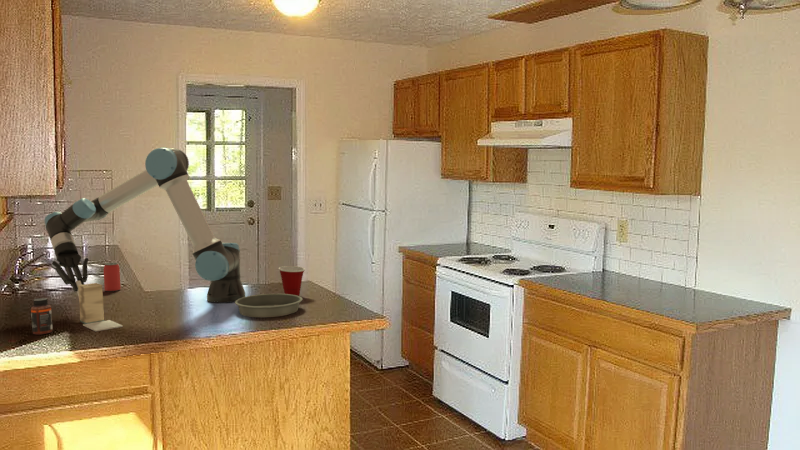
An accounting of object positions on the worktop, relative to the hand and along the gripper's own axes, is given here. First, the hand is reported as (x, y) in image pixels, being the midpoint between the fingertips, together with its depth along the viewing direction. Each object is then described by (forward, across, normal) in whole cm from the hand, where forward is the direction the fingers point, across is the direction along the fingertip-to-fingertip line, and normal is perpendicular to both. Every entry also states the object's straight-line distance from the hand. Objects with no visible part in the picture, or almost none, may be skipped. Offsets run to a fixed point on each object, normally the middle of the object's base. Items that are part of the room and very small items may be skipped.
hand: (82, 297), depth 243 cm
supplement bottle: (+15, +17, +4) cm, 23 cm away
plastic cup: (+22, -74, +12) cm, 78 cm away
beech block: (+12, 0, +1) cm, 12 cm away
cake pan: (+34, -53, +23) cm, 67 cm away
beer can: (-28, -28, -39) cm, 55 cm away
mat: (+19, 0, +8) cm, 20 cm away
